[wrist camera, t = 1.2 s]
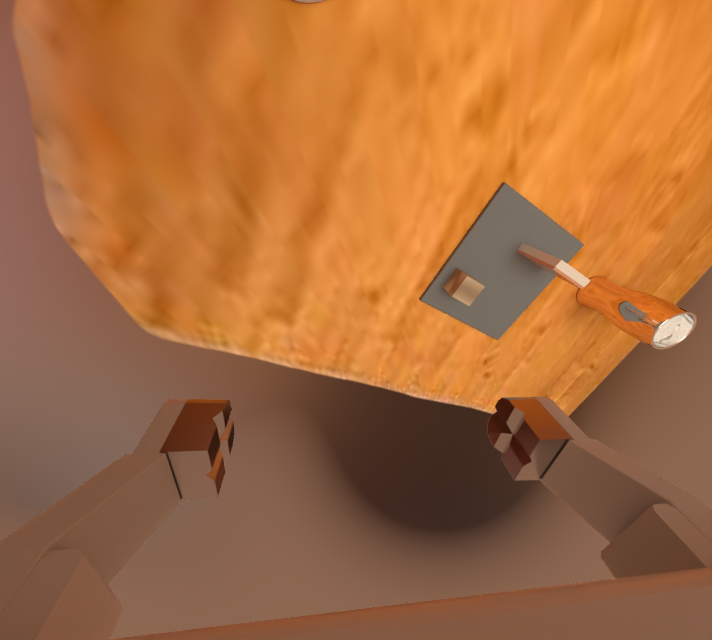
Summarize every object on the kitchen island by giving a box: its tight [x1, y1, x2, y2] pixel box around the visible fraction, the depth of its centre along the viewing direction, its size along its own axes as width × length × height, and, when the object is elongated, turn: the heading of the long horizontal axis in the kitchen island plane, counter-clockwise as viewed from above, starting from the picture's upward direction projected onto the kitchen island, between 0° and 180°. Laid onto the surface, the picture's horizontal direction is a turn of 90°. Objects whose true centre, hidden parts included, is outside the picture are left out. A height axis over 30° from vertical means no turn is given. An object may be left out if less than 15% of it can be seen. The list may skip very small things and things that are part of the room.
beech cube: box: [443, 268, 485, 306], centre depth 49 cm, size 4×4×4 cm
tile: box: [516, 243, 590, 289], centre depth 46 cm, size 2×7×9 cm, turn 60°
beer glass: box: [577, 276, 697, 349], centre depth 49 cm, size 7×7×15 cm
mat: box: [420, 183, 584, 340], centre depth 51 cm, size 22×20×1 cm
